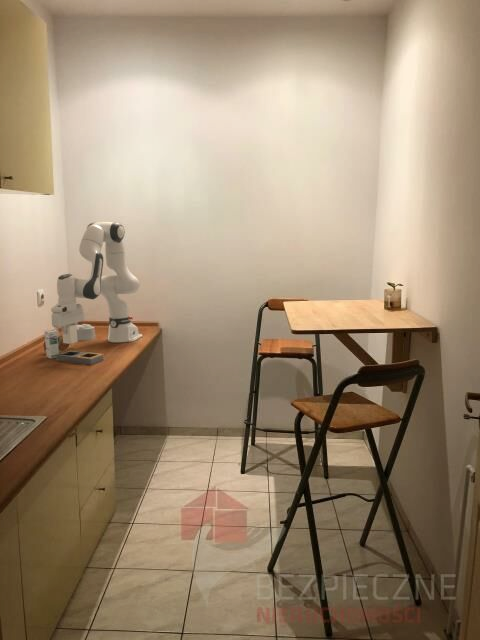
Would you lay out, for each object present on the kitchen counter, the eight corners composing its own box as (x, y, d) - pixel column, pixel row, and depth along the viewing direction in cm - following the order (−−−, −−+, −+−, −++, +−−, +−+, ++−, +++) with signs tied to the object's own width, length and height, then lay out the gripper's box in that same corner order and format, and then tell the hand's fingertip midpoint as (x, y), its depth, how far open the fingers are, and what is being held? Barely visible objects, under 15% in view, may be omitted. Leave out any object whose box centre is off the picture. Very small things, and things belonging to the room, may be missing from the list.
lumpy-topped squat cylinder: (74, 337, 330) (74, 323, 328) (96, 336, 331) (95, 323, 330) (71, 341, 320) (70, 327, 318) (93, 340, 321) (92, 326, 320)
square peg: (70, 340, 281) (68, 324, 279) (77, 341, 279) (76, 324, 277) (63, 342, 276) (61, 325, 274) (70, 343, 274) (69, 326, 272)
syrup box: (50, 359, 280) (48, 331, 277) (46, 356, 284) (44, 330, 281) (61, 357, 283) (59, 330, 280) (56, 355, 288) (54, 328, 285)
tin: (46, 354, 289) (45, 339, 287) (43, 353, 290) (42, 338, 289) (70, 349, 300) (69, 334, 299) (66, 348, 302) (65, 333, 301)
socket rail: (70, 356, 285) (70, 350, 285) (103, 360, 276) (103, 354, 276) (57, 360, 276) (56, 354, 276) (90, 365, 267) (90, 358, 267)
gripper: (76, 302, 284) (78, 328, 287) (48, 309, 266) (50, 336, 269) (86, 303, 281) (87, 329, 284) (58, 310, 263) (60, 337, 266)
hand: (69, 332), depth 276 cm, fingers closed on square peg, 5 cm apart
